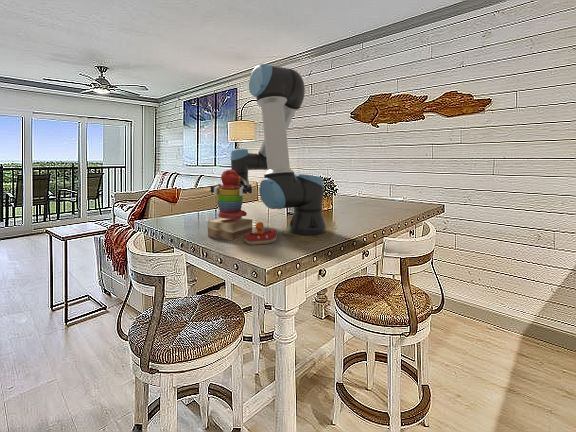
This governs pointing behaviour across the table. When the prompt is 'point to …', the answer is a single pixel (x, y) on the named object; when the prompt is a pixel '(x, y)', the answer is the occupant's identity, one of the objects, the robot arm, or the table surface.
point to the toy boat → (260, 236)
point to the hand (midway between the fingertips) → (227, 191)
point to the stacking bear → (230, 196)
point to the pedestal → (229, 228)
